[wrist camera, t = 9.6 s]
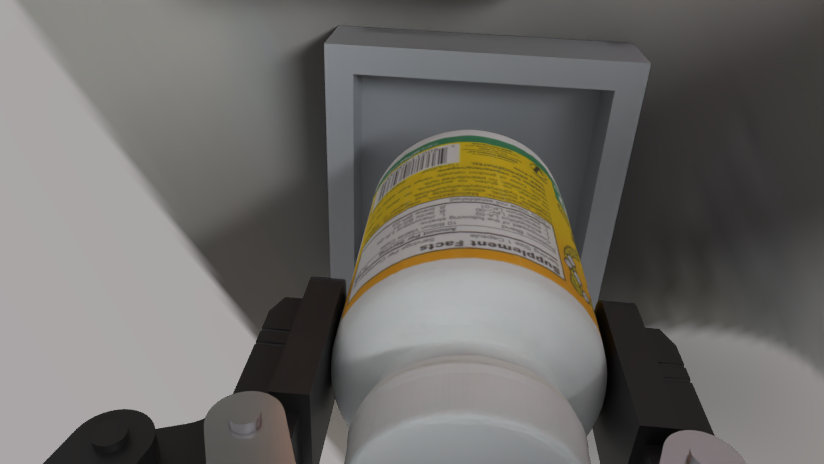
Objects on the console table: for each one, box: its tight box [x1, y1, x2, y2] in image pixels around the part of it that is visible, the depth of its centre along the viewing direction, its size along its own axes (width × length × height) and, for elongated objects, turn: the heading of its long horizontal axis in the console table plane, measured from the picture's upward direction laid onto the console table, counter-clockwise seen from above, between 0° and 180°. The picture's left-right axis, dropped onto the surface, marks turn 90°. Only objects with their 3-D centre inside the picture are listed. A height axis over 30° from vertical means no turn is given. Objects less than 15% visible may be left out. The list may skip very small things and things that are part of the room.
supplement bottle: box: [331, 130, 607, 464], centre depth 14 cm, size 5×5×10 cm
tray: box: [324, 26, 651, 310], centre depth 21 cm, size 9×9×2 cm
